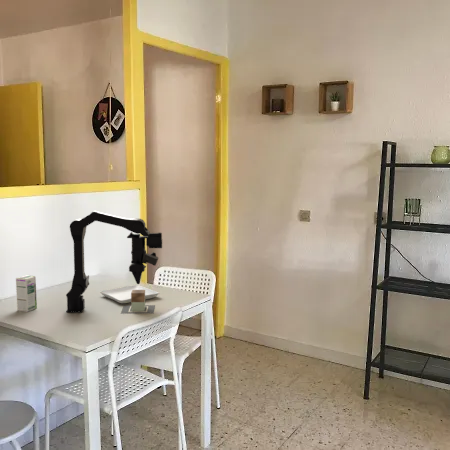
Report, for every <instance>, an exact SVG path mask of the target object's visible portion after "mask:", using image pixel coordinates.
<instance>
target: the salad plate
mask: <svg viewBox="0 0 450 450" xmlns="http://www.w3.org/2000/svg"><path fill="white" fill-rule="evenodd" d="M132 290H145V300H150V299H153V298H155V297H157V296H158V295H159V294H160V292H158V291H156V290H154V289H153V290H152V289H150V288H148V287H144V286H142V285H139V284H133V285H126V286H120V287H115V288H108V289H105V290H104V289H103V290H100V291H99V293H100V294H101V295H102V296H104V297H106V298H108V299H111V300H113V301H115V302H116V303H119V304H122V305H123V304H125V305H126V304H129V303H131V292H132Z"/></svg>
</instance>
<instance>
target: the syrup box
mask: <svg viewBox="0 0 450 450" xmlns="http://www.w3.org/2000/svg"><path fill="white" fill-rule="evenodd" d="M36 281H37V279H36V276H35V275H30V274H27V275H23V276H19V277H16V278H15V289H16V291H15V292H16V308H17V309H16V310H17V311H20V312H25V313H29V312H31V311H33V310H36V309H38V305H37V304H38V303H37V286H36V285H37V284H36V283H37V282H36Z"/></svg>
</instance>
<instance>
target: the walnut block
mask: <svg viewBox="0 0 450 450" xmlns="http://www.w3.org/2000/svg"><path fill="white" fill-rule="evenodd" d="M144 301H145V302H146V299H145V290H132V292H131V302H144ZM131 302H130V303H131Z"/></svg>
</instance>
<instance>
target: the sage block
mask: <svg viewBox="0 0 450 450" xmlns="http://www.w3.org/2000/svg"><path fill="white" fill-rule="evenodd" d="M130 303H131V311H144V310H145V305H146V300H145V301H144V302H130Z"/></svg>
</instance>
